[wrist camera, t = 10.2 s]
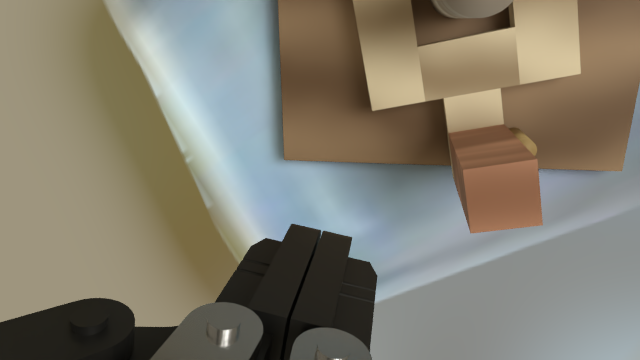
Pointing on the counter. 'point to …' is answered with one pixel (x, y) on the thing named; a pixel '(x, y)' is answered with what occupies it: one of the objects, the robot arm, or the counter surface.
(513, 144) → the square frame with handle
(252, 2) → the counter surface
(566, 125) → the post base
